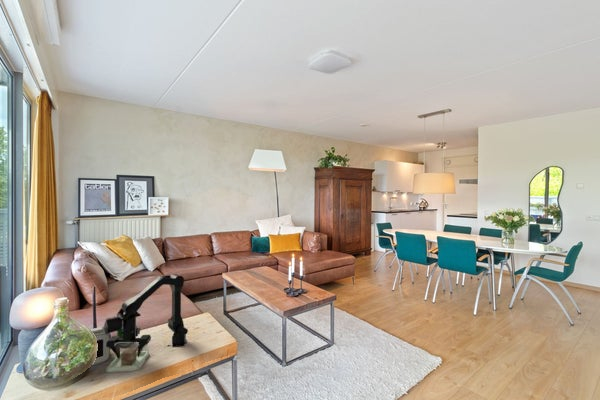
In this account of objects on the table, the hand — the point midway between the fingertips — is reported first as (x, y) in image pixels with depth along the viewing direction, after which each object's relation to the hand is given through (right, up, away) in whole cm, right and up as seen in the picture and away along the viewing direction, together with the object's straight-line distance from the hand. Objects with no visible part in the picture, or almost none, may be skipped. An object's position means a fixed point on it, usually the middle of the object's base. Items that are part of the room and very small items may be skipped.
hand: (128, 357), depth 142 cm
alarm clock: (-21, -2, +1) cm, 21 cm away
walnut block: (0, -3, 0) cm, 2 cm away
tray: (0, -3, 0) cm, 3 cm away
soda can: (-13, -2, +18) cm, 22 cm away
